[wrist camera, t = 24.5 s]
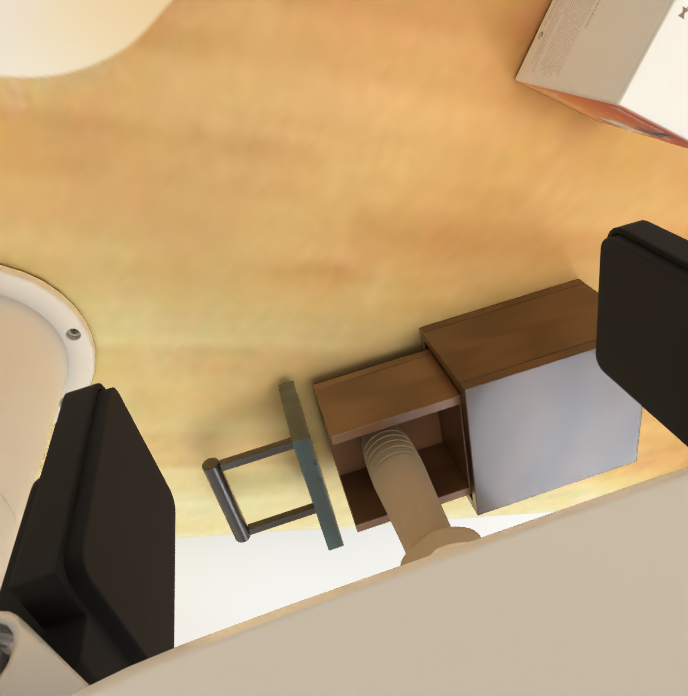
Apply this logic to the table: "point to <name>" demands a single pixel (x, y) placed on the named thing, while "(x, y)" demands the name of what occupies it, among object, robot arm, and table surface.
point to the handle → (409, 495)
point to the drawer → (344, 437)
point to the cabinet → (535, 395)
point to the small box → (616, 63)
